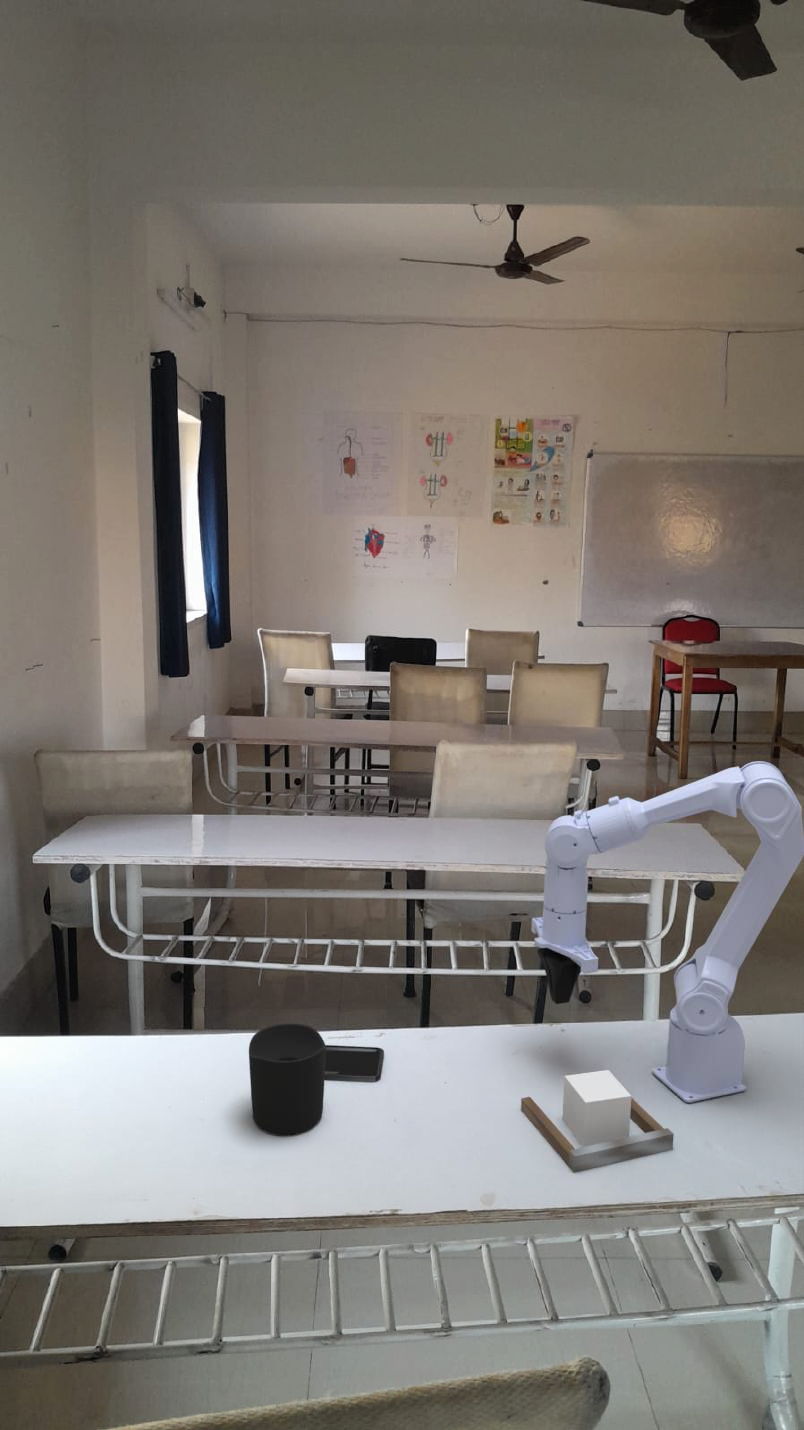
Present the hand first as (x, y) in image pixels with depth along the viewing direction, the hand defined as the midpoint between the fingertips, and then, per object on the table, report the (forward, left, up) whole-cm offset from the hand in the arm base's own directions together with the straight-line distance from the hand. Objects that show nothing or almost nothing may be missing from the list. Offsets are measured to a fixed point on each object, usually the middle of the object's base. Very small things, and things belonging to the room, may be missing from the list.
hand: (560, 1001), depth 132 cm
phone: (+30, -10, -10) cm, 33 cm away
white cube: (+3, +15, -10) cm, 18 cm away
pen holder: (+38, 0, -10) cm, 39 cm away
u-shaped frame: (+3, +14, -9) cm, 17 cm away
